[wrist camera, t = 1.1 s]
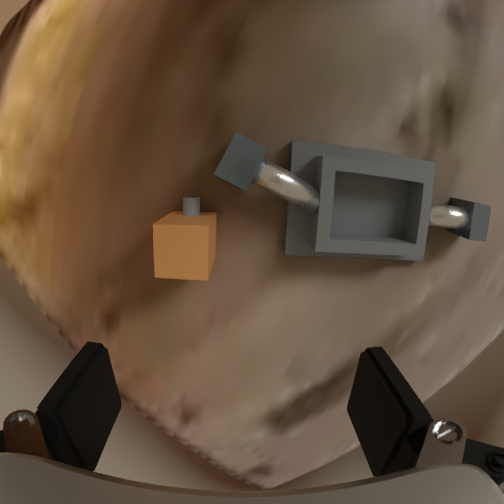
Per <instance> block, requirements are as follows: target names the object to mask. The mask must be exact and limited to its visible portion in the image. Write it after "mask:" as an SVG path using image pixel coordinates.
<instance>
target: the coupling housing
mask: <svg viewBox="0 0 504 504" xmlns="http://www.w3.org/2000/svg"><path fill="white" fill-rule="evenodd" d="M289 172H291V173H293V174H295V175H297V176H298V177H300V178H302V179H304V180H305V181H307V182H309V183H311V184H312V185H314V186H316V187H317V188H318V189H319V193H320V205H319V206H318V208H317V209H316V211H315V212H314V213H313V214H309V213H307V212H306V211H304V210H302V209H300V208H298V207H297V206H295V205H293V204H291V203H289V202H287V211H286V225H285V238H284V251H283V252H284V254H285V255H291V256H315V257H339V258H364V259H389V260H415V261H423V258H424V253H425V247H426V241H427V235H428V228H429V218H430V211H431V203H432V197H433V186H434V174H435V163H433V162H429V161H424V160H420V159H415V158H410V157H405V156H400V155H395V154H389V153H384V152H378V151H372V150H365V149H359V148H352V147H345V146H337V145H329V144H321V143H311V142H301V141H291V147H290V165H289Z"/></svg>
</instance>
